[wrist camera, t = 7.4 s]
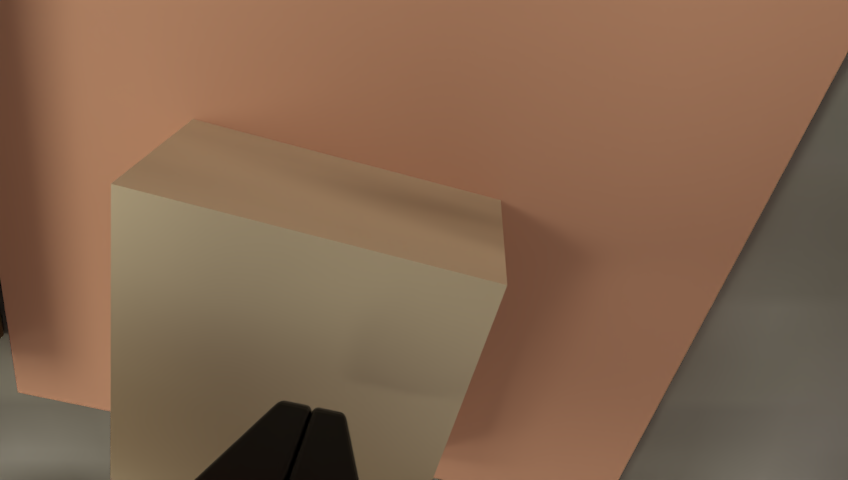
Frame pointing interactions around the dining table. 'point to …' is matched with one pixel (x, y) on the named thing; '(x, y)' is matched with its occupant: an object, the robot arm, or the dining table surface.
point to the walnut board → (1, 328)
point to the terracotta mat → (434, 172)
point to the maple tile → (291, 302)
